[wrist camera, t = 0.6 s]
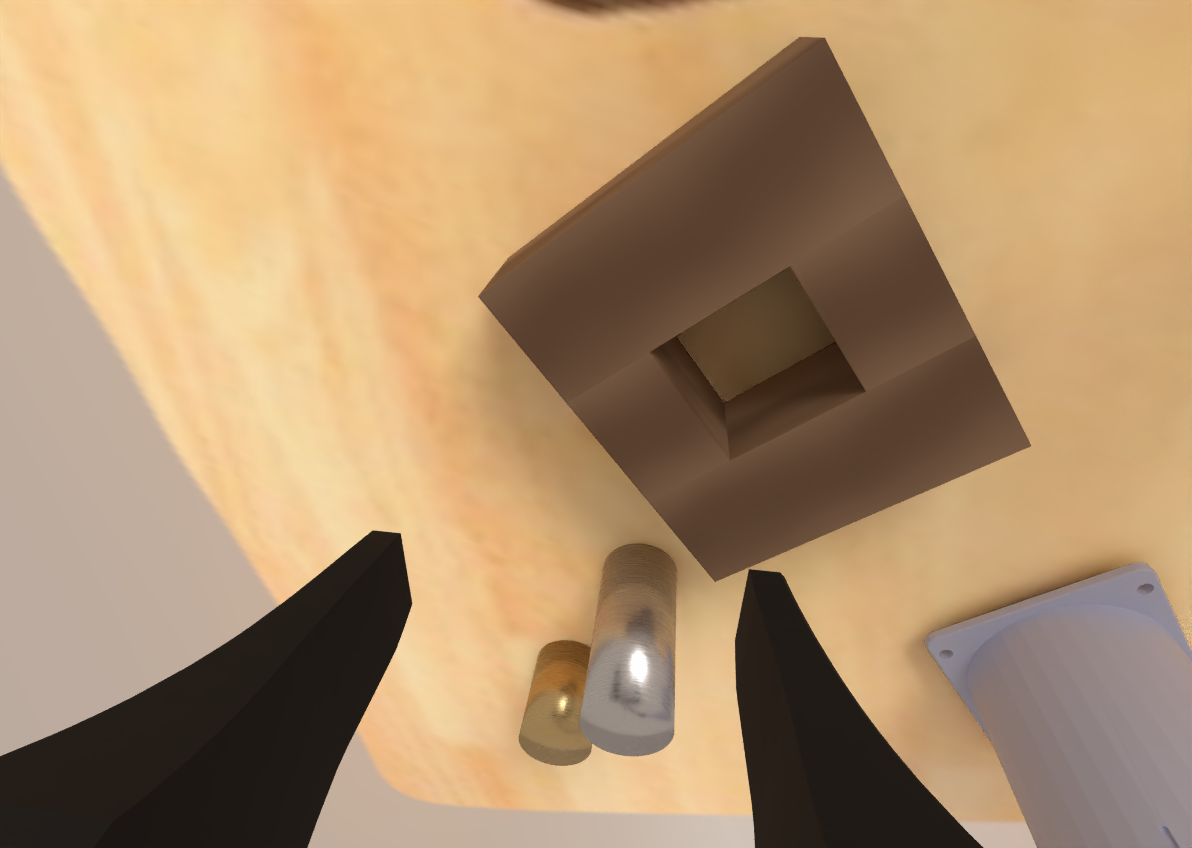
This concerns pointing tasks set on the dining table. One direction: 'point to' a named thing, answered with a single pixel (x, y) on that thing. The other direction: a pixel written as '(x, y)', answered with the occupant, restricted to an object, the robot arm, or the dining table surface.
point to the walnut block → (729, 270)
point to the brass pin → (557, 705)
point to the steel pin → (633, 654)
